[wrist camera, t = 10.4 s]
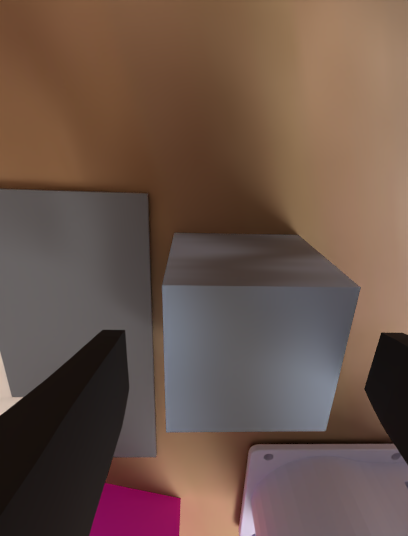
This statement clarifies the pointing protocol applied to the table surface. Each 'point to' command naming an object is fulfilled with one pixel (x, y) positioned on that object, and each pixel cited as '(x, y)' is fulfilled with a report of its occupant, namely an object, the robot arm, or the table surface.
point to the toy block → (135, 513)
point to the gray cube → (252, 333)
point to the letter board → (77, 293)
